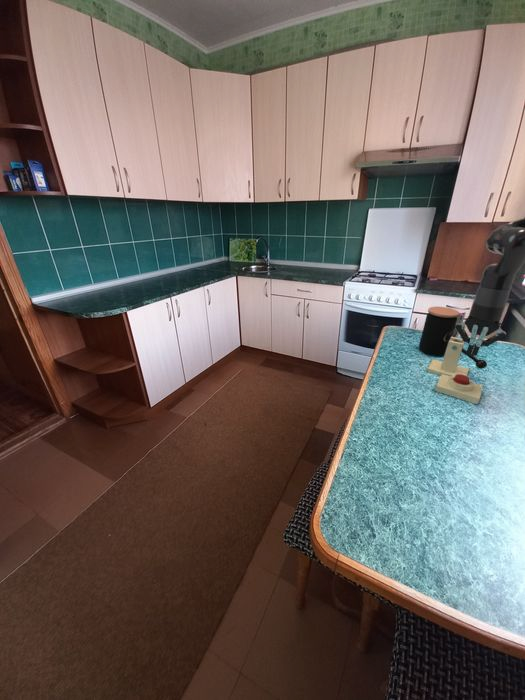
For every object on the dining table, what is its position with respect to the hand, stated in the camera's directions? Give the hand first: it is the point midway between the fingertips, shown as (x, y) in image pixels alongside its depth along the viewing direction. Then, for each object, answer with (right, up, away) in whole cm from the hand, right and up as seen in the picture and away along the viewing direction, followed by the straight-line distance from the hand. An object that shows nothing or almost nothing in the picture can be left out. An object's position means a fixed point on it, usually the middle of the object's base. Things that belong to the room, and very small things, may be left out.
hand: (471, 355), depth 91 cm
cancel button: (0, -9, +4) cm, 10 cm away
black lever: (+6, -1, +12) cm, 13 cm away
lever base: (+3, -6, +17) cm, 18 cm away
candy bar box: (+12, +3, +36) cm, 38 cm away
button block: (0, -12, +6) cm, 13 cm away
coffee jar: (+6, +1, +32) cm, 32 cm away
